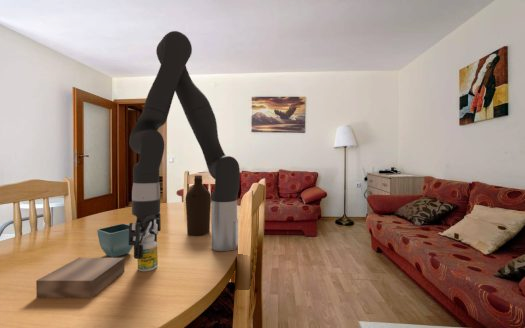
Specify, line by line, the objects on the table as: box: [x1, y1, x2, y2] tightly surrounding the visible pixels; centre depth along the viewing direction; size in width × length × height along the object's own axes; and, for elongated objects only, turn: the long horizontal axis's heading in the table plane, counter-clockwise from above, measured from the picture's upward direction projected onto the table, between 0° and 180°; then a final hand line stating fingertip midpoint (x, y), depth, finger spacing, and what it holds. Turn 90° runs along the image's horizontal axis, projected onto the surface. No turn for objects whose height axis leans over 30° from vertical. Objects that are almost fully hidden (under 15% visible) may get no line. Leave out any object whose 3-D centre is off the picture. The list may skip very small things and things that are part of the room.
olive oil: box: [185, 174, 212, 237], centre depth 105 cm, size 11×11×25 cm
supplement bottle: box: [137, 233, 159, 272], centre depth 72 cm, size 5×5×10 cm
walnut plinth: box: [35, 257, 125, 299], centre depth 63 cm, size 13×13×4 cm
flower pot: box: [96, 223, 134, 258], centre depth 82 cm, size 9×9×9 cm
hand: (146, 252), depth 72 cm, fingers open, 8 cm apart
